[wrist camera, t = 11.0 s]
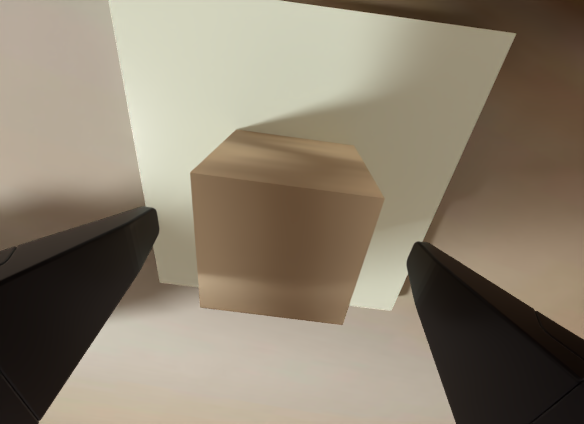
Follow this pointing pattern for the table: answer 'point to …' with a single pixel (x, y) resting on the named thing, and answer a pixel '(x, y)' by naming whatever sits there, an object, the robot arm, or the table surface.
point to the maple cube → (282, 225)
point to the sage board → (302, 107)
